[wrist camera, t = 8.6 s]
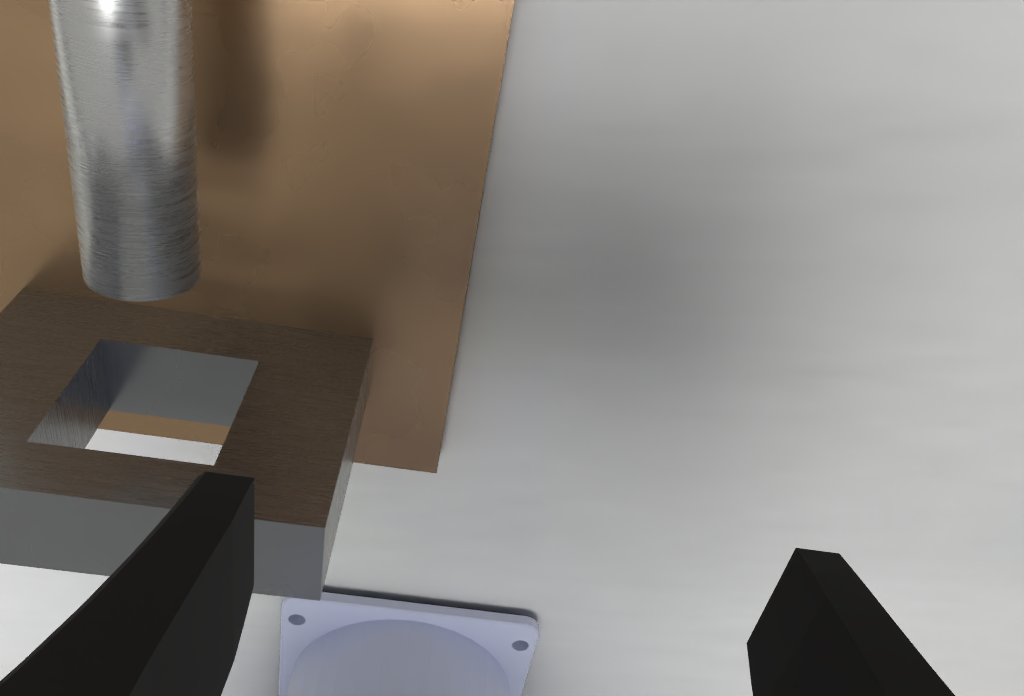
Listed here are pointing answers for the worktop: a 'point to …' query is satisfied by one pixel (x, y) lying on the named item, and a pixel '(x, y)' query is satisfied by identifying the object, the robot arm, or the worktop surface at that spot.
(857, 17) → the worktop surface
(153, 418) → the wooden base with bracket
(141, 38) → the red-capped metal rod
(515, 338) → the worktop surface
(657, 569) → the worktop surface
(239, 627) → the robot arm
